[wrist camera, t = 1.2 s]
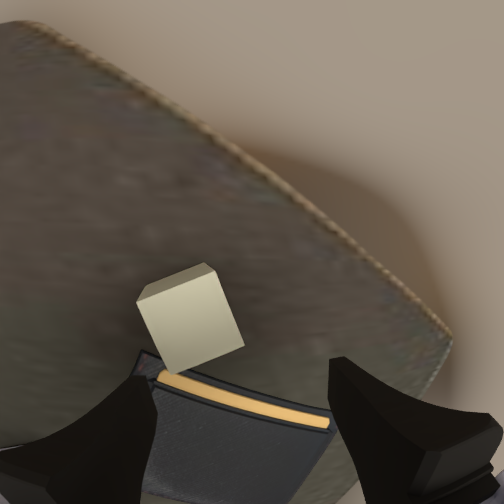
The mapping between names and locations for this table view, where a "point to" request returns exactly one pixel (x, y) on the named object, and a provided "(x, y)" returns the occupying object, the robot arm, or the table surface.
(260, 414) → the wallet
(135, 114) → the table surface
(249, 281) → the table surface
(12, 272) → the table surface
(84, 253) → the table surface
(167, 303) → the block
